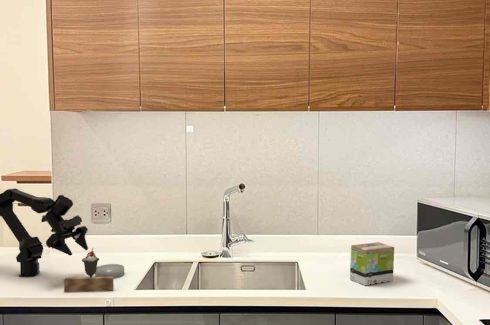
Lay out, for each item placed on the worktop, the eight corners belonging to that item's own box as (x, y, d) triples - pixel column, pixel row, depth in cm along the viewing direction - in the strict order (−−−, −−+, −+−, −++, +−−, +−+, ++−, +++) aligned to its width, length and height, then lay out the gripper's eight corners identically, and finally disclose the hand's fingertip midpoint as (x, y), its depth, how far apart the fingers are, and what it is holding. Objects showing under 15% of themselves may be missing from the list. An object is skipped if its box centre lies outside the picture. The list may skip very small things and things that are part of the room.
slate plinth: (92, 279, 196) (91, 272, 196) (98, 271, 208) (98, 264, 208) (121, 278, 197) (121, 271, 197) (126, 270, 209) (126, 263, 209)
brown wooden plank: (64, 292, 180) (63, 279, 180) (65, 290, 182) (65, 277, 182) (112, 290, 182) (112, 278, 182) (113, 289, 184) (113, 276, 184)
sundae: (94, 287, 186) (94, 249, 185) (79, 286, 188) (78, 248, 187) (103, 282, 193) (102, 245, 192) (87, 281, 194) (87, 244, 193)
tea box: (365, 286, 189) (366, 250, 188) (349, 279, 198) (350, 244, 197) (394, 281, 196) (394, 246, 195) (376, 275, 204) (377, 241, 204)
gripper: (50, 213, 184) (74, 244, 180) (83, 206, 201) (105, 234, 198) (35, 232, 187) (58, 262, 184) (69, 224, 204) (90, 251, 201)
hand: (79, 252), depth 191 cm, fingers open, 9 cm apart
